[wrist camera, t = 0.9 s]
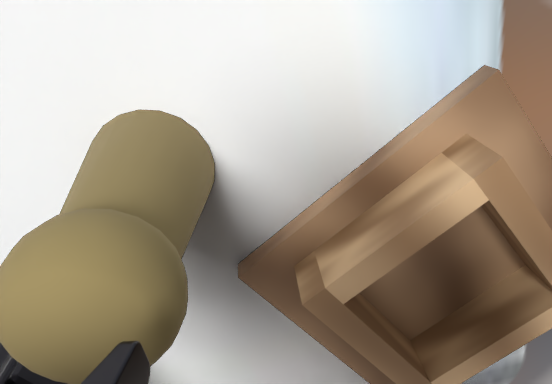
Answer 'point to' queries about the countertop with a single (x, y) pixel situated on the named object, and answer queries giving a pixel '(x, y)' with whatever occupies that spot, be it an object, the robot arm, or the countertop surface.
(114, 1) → the countertop surface
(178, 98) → the countertop surface
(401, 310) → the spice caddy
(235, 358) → the countertop surface
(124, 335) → the cork
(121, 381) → the robot arm
